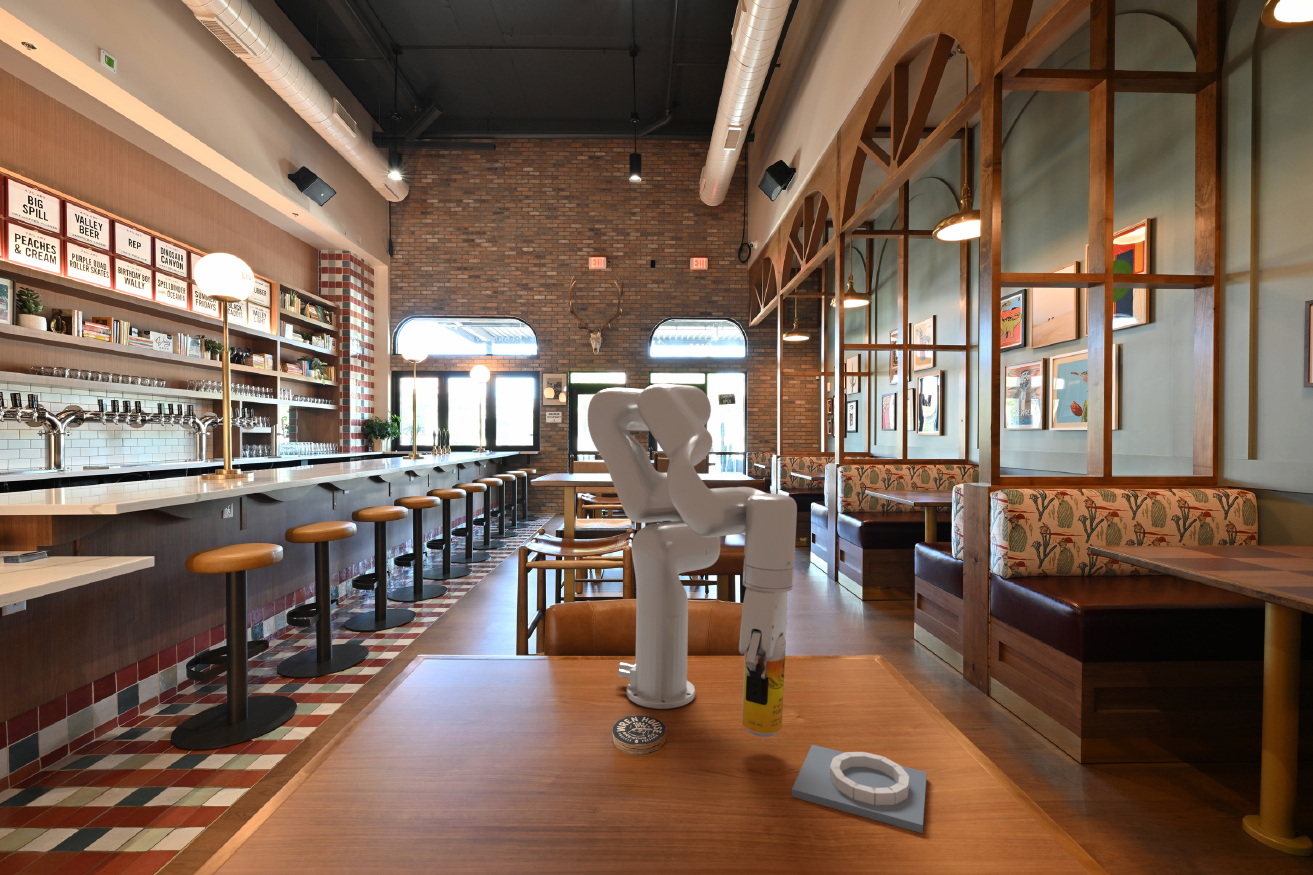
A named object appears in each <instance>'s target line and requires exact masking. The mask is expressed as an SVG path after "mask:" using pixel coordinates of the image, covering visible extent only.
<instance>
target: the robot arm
mask: <svg viewBox="0 0 1313 875" xmlns="http://www.w3.org/2000/svg"><path fill="white" fill-rule="evenodd" d="M587 409H588V410H587V427H588V432H589V435H590V438H591V440H592V443H593V445H594V447H595V448H596V451H597V452H598V453H599V456H600V457H601V458H602V460H603V462H604V464H605V466H606V468H607V470H608V474H609V476H610V479H611V481H612V484H613V487H614V489H615V492H616V494H617V497H618V499H619V503H620V504H621V506H622V509H623V511H624V513H625V516H626V517H627V518H628V520H630V521H631V522H634V523H641V524H643V523H644V524H645V523H651V524H648V525H646V526H644V527H642V528H641V529H639V530H638V531H637V532H636V533H635V535H634V537H633V539H632V543H631V557H632V562H633V568H634V574H635V585H636V586H635V588H636V590H635V594H636V595H635V596H636V598H635V599H636V602H635V603H636V605H635V606H636V607H635V608H636V609H635V610H636V616H635V617H636V619H635V620H636V621H635V624H636V625H635V627H636V628H635V663H634V664H631V663H629V662H625V661H621V662H620V663H618V668H617V669H618V671H617V676H618V677H619V678H622V679H628V681H629V683H628V685H627V687H626V696H627V698H628V699H629V700H630V701H631V702H633V703H634V704H636V705H638V706H641V707H643V708H648V709H649V708H650V709H655V710H656V709H657V710H664V709H665V710H666V709H667V710H668V709H676V708H680V707H683V706H685V705H688V704H689V703H690V702H692V701H693V700H695V696H696V688H695V685H694V684H693V683H691V682H690V681H689V680H688V640H689V639H688V638H689V637H688V636H689V635H688V633H689V632H688V628H689V626H688V625H689V600H688V599H689V598H688V594H687V591H686V588H685V586H684V585H683V584H682V581H681V580H680V576H679V575H680V574H684V573H687V572H694V571H698V570H703V569H707V568H710V567H712V566H713V565H714V564H715V563H716V562H717V561H718V559H719V557H720V555H721V554H720V553H721V540H720V537H725V536H731V535H733V536H735V535H744V550H743V551H744V552H743V572H742V585H743V586H744V587H745V592H744V598H743V603H742V609H741V611H742V612H741V619H740V631H739V644H738V651H739V654H741V655H744V654H745V653H746V652H747V651H748V654H747V658H746V664H747V672H746V675H747V677H746V700H747V701H750V702H754V703H757V704H761V705H766V704H767V702H768V683H769V677H766V676H767V669H768V661H769V659H770V658H771V657H773V655H774V653H775V648H776V645H777V642H778V639H779V637H780V636H782V633H783V635H784V637H785V638H786V635H787V625H788V592H791V591H793V589H794V583H795V582H794V581H795V579H794V578H795V576H794V575H795V559H796V558H795V557H796V555H795V554H796V539H797V538H796V537H797V516H798V515H797V512H798V507H797V505H798V504H797V503H796V500H795V499H794V498H793V497H791V496H789V495H786V494H779V493H778V494H777V493H767V492H764V491H763V490H759V489H757V488H754V487H749V486H737V487H732V486H731V487H716V488H715V487H714V488H709V487H708V486H707V485H706V484H705V482H704V481H703V480H702V479H701V477H700V476H699V474H698V472H697V471H696V469H695V466H698V464H700V463H701V462H702V461H703V460H705V458H706V457H707V456H708V455H709V453H710V451H711V449H712V446H713V438H712V435H711V433H710V431H709V430H708V429H707V428H706V426H705V425H707V423H708V422H709V419H710V417H711V414H712V405H711V401H710V399H709V397H708V396H707V394H706V393H705V392H704V391H703V389H701V388H699V387H697V386H694V385H687V384H686V385H685V384H684V385H683V384H673V383H656V384H652V385H649V386H647V387H646V388H644V389H643V388H629V387H610V388H605V389H602V390H599V391H597V393H595V394H594V395H593V396H592V397H591V399H590V402H589V405H588V408H587ZM628 431H644V432H646V431H648V432H650V434H651V436H653V438H654V439H655V441H656V442H657V444H658V445H659V447H660V449H661V450H662V451H663V453H664V455H665V456H666V457H667V459H668V460H669V463H668V467H667V470H666V472H660V471H657V470H656V469H655V467H654V465H653V463H652V461H651V458H650V455H649V454H648V451H647V450H646V449H645V447H644V446H643V445H642V444H641V443H640V442H639V441H638V440H637V439H636V438H635V437H633V435H631V434H630V432H628ZM749 645H750V646H749ZM759 650H763V651H765V655H764V656H763V655H758V654H759ZM758 659H761V660H763V665H762V667H761V664H759V663H758Z"/></svg>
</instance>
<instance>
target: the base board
mask: <svg viewBox="0 0 1313 875" xmlns="http://www.w3.org/2000/svg"><path fill="white" fill-rule="evenodd" d="M927 772H928V771H924V770H919V769H917V768H911V767H907V766H903V765H900V764H899V763H896V762H895V761H893V760H891V759H889V758H887V757H885V756H883V755H878V754H876V753H875V754H874V753H870V752H867V751H847V752H844V751H841V750H836V749H832V748H828V747H824V746H823V747H822V746H820V745H816V744H811V745H810V749H809V750H808V752H807V754H806V757H805V759H804V762H803V763H802V766H801V767H800V770H799V773H798V775H797V777H796V779H795V781H794V784H793V785H792V788H791V797H792V798H795V799H799V800H802V801H807V802H810V803H813V804H817V805H820V806H824V807H827V808H832V809H835V810H839V811H842V812H846V813H849V814H853V815H856V816H859V817H863V818H867V819H871V820H873V821H877V822H881V823H884V824H888V825H892V826H895V827H899V828H903V829H907V830H910V831H914V832H917V833H920V834H923V831H924V818H925V816H924V815H925V806H926V805H925V804H926V803H925V802H926V791H927V777H928V776H927V775H928V774H927Z"/></svg>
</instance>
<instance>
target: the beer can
mask: <svg viewBox="0 0 1313 875" xmlns="http://www.w3.org/2000/svg"><path fill="white" fill-rule="evenodd" d="M786 642H787V641H786V636H785V637H784V635H783V633H782V636H780V637H779V639H778V642H777V645H776V648H775V653H774V655H773V657H771V658H770V659H769V661H768V669H767V676H766V677H769V683H768V702H767V704H766V705H761V704H757V703H754V702H750V701H747V700H746V677H747V675H746V672H747V664H746V658H747V654H748V651H747V652H746V653H745V654H743V679H742V681H743V682H742V702H741V703H742V705H741V724H742V726H743V727H744V729H745V730H746V732H748V733H749V734H751V735H753V736H756V737H759V738H760V737H761V738H770V737H773V736H776V735H777V734H778V733H779V731H780V730H781V729H782V728H783V711H784V710H783V708H784V689H785V688H784V686H785V665H786V664H785V663H786V648H787V646H786V645H787V643H786ZM749 646H750V645H749ZM758 655H763V656H764V655H765V651H763V650H759V654H758ZM758 663H759V664H761V667H762V665H763V660H761V659H758Z"/></svg>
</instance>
